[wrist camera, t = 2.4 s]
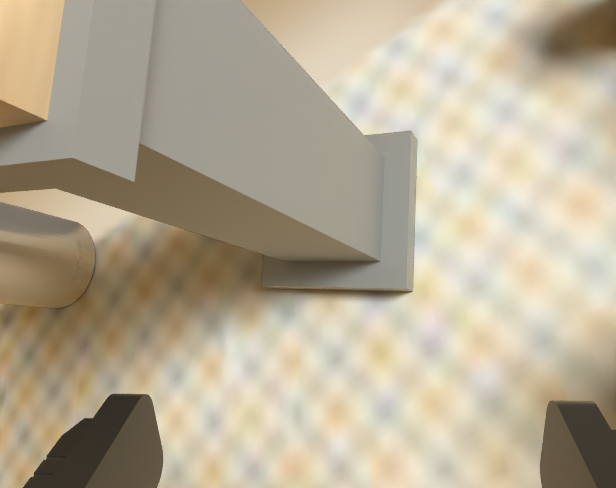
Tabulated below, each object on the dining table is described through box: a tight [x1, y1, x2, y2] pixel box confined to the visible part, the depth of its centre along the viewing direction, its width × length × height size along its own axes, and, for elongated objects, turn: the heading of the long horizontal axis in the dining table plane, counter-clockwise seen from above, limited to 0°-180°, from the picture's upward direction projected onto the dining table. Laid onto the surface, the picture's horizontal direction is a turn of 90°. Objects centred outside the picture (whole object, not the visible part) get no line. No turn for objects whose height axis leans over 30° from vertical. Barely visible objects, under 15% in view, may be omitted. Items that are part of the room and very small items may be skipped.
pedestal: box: [0, 0, 417, 291], centre depth 30 cm, size 12×12×32 cm
